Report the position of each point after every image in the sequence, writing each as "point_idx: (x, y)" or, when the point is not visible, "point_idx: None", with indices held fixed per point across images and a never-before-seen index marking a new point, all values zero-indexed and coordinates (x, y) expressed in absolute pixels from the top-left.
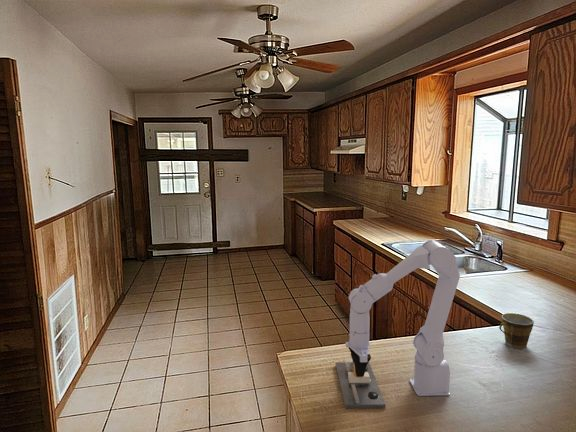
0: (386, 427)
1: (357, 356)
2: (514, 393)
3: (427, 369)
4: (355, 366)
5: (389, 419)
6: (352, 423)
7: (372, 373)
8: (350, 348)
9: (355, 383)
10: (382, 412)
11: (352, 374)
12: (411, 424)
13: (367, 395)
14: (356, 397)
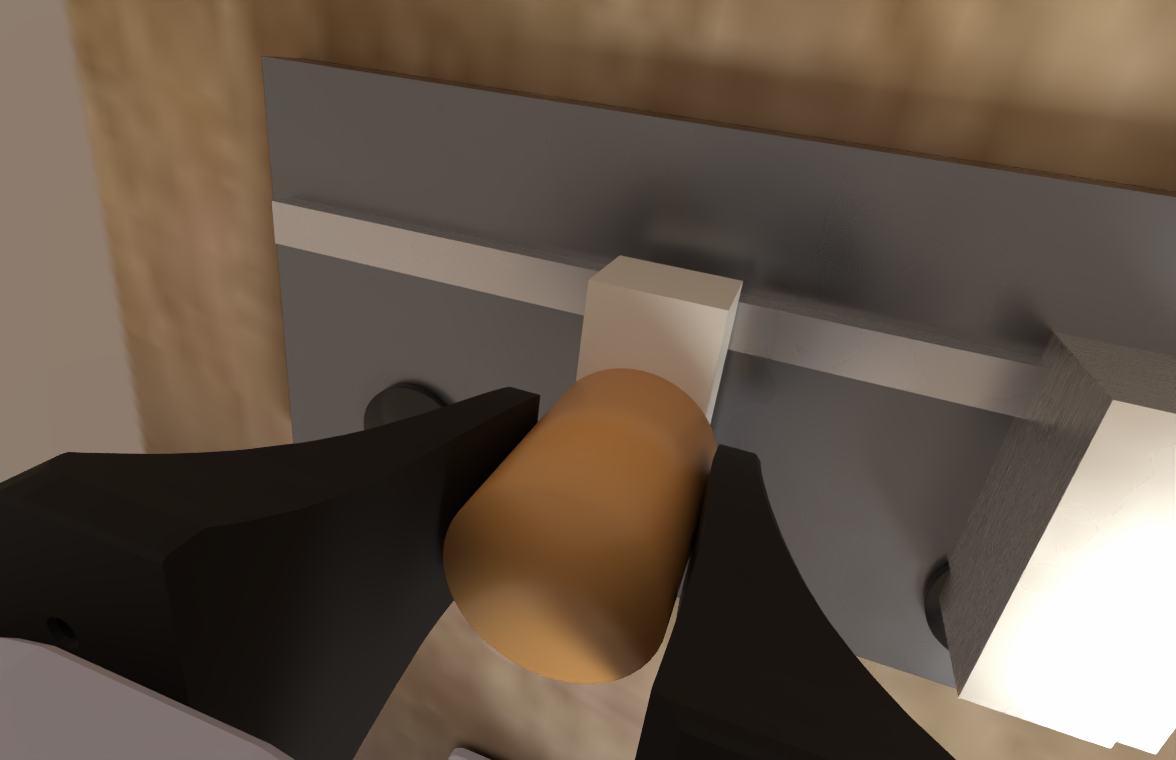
0: (126, 346)
1: (23, 637)
2: None
3: None
4: (336, 440)
5: (206, 411)
6: (118, 70)
7: None
8: (645, 744)
9: None
10: (275, 402)
11: (650, 355)
12: None
13: (418, 378)
14: (339, 234)
